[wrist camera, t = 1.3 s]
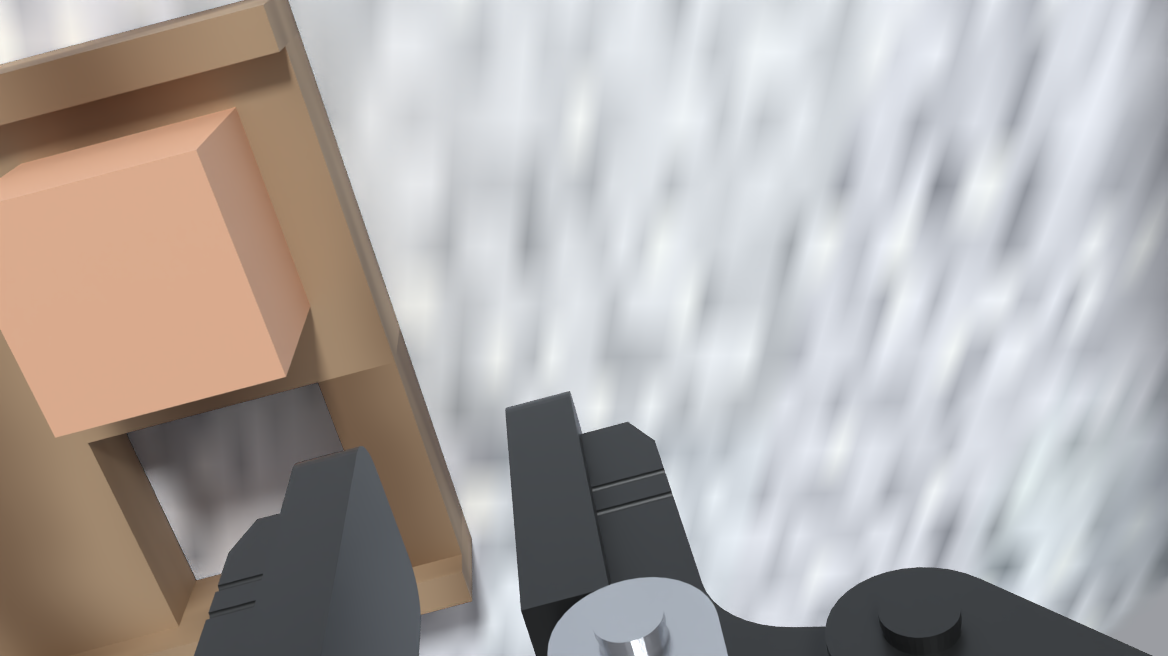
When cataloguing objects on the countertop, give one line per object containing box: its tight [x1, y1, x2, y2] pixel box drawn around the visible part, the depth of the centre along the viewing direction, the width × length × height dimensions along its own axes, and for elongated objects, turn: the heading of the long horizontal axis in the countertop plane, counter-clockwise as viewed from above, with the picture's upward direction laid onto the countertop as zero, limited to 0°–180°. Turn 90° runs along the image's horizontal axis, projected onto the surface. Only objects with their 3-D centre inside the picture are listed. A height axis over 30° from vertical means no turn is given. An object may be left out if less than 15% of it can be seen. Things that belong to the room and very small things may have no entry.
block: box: [0, 107, 310, 438], centre depth 24 cm, size 5×5×4 cm
